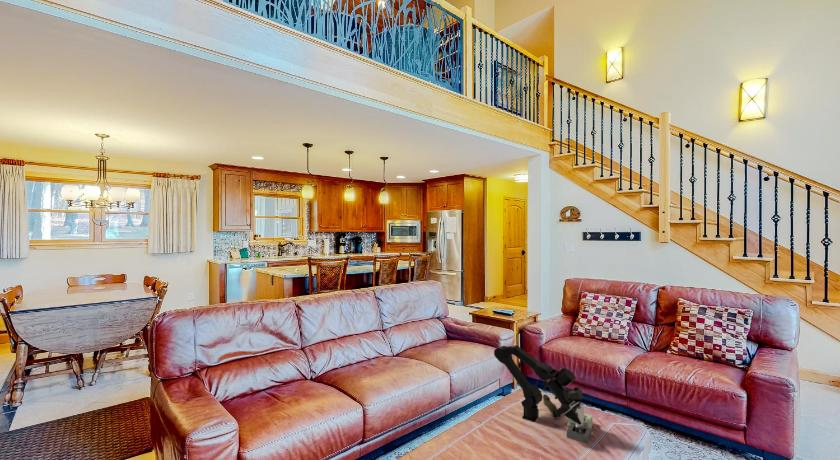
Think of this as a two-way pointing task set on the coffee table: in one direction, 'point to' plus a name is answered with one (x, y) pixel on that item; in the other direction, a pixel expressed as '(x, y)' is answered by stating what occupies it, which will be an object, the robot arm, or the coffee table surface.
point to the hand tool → (550, 405)
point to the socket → (579, 434)
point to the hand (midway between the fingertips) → (582, 422)
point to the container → (587, 422)
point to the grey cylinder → (580, 415)
